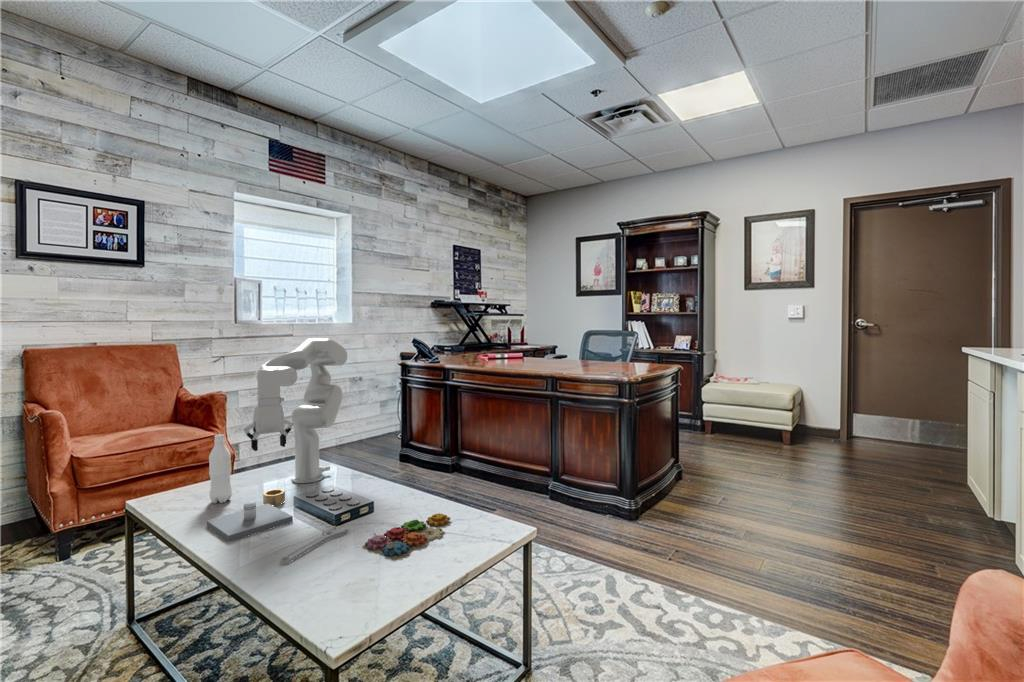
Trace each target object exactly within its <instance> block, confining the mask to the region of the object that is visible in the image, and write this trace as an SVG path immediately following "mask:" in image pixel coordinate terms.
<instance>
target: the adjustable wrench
mask: <svg viewBox="0 0 1024 682" xmlns="http://www.w3.org/2000/svg"><path fill="white" fill-rule="evenodd" d="M347 533H348V526H346V525H344V526H343V527H342V528H341V529H340V528H339V529H337V525H332V526H329V527H328V528H326V529H323V530H322V532H321V535H320V536H318V537H317V538H315V539H313V540H311V541H309V542H307V543H306V544H304V545H303V546H301V547H299V548H297V549H295V550H293V551H292V552H290V553H288V554H287V555H286V554H285V555H284V556H283V557H281V558H280V559H279V561H280V562H279V563H281V564H280V565H282V564H285V565H287V564H290V563H292V562H293V561H295V560H296V558H297V557H298V558H300V557H301V556H300V555H302V554H303V555H305V554H306V553H305V552H307V551H308V550H310V549H312V548H313V547H315V546H317V545H319V544H320V543H322V542H324V541H325V542H327V541H329V540H332V539H335V538H338V536H339V537H341V536H344V535H346V534H347ZM334 537H335V538H334ZM331 538H332V539H331ZM328 539H329V540H328ZM326 540H327V541H326ZM325 542H324V543H325ZM322 544H323V543H322ZM320 545H321V544H320ZM320 545H319V546H320ZM317 547H318V546H317ZM315 548H316V547H315ZM312 550H313V549H312ZM310 551H311V550H310ZM308 552H309V551H308ZM308 552H307V553H308ZM304 553H305V554H304ZM303 555H302V556H303ZM299 556H300V557H299ZM298 558H297V559H298ZM294 559H295V560H294ZM292 560H293V561H292ZM291 561H292V562H291ZM289 562H290V563H289Z"/></svg>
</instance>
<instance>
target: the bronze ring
mask: <svg viewBox="0 0 1024 682" xmlns="http://www.w3.org/2000/svg"><path fill="white" fill-rule="evenodd" d="M284 501H285V502H286V491H285V490H284V489H282V488H278V489H277V488H275V489H270V490H267V491H265V492H263V494H262V503H263V504H270V505H278V504H281V503H283V502H284ZM285 502H284V503H285ZM284 503H283V504H284ZM263 504H262V505H263ZM281 505H282V504H281ZM278 506H279V505H278Z"/></svg>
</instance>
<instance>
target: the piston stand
mask: <svg viewBox="0 0 1024 682" xmlns="http://www.w3.org/2000/svg"><path fill="white" fill-rule="evenodd" d="M293 521H294V520H293V515H292V514H290V513H288V512H285V511H284V510H282V509H280V508H278V507H277V506H272V505H270V504H264V505H263V504H261V505H258V506H257V502H256V501H254V500H253V501H246V502H244V503H243V510H240V511H236V512H232V513H229V514H225V515H221V516H217V517H214V518H211V519H207V520H206V527H207V528H208V529H210V530H211V531H212V532H214V533H216V534H217V535H218V536H219V537H221V538H222V539H223V540H225V541H227V542H228V543H231V542H233V541H237V540H240V539H242V537H243V538H246V537H245V536H247V537H249V536H248V535H250V536H253V535H256V534H259V533H263V532H265V530H266V531H269V530H271V529H270V528H272V529H274V528H273V527H275V528H278V527H281V526H284V525H283V524H285V525H287V524H286V523H288V524H290V522H291V523H293ZM280 525H281V526H280ZM277 526H278V527H277ZM268 529H269V530H268ZM258 532H259V533H258ZM255 533H256V534H255ZM252 534H253V535H252ZM239 538H240V539H239Z"/></svg>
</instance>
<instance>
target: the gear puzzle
mask: <svg viewBox="0 0 1024 682" xmlns="http://www.w3.org/2000/svg"><path fill="white" fill-rule="evenodd" d="M450 520H451V517H449V516H448V515H447V514H443V513H440V512H439V513H434V514H432V515H431V516H428V517H427V519H426V521H425V522H424V521H420V520H419V519H417V518H416V519H412V520H409V521H407V522H403V524H402V525H401V526H397V527H396V526H395V527H391V528H390V529H388V530H386V532H385V533H383V534H378V535H375V536H372V538H369V539H367V541H366V542H365V543H364V545H362V547H361V548H362V549H363V550H366V551H367V550H369V549H372V550H371V552H372V553H374V554H378V555H381V556H384V557H385V556H387V555H389V559H391V560H393V561H394V560H395V561H397V560H399V559H401V558H404V559H406V558H407V557H409V556H411V552H413V551H415V550H417V549H419V548H421V549H424V548H427V547H428V544H429V543H430V542H432V541H435V540H441V539H442V537H443V538H444V535H445V534H446V532H445V531H443V528H441V527H438V526H444V525H445V524H449V523H450ZM426 524H428V525H426ZM431 526H434V527H436V528H434V527H431ZM440 530H442V531H440ZM444 533H445V534H444ZM443 534H444V535H443ZM441 535H442V536H441ZM385 536H386V537H385ZM436 538H437V539H436ZM440 538H441V539H440Z"/></svg>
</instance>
